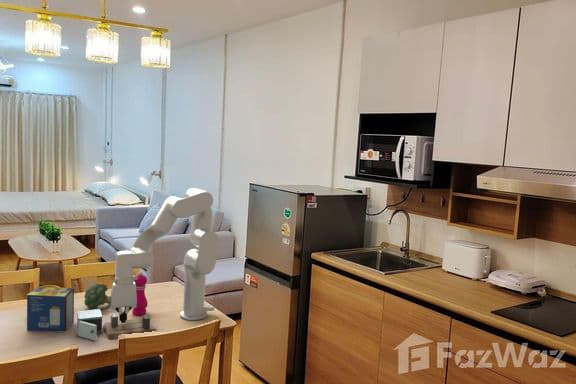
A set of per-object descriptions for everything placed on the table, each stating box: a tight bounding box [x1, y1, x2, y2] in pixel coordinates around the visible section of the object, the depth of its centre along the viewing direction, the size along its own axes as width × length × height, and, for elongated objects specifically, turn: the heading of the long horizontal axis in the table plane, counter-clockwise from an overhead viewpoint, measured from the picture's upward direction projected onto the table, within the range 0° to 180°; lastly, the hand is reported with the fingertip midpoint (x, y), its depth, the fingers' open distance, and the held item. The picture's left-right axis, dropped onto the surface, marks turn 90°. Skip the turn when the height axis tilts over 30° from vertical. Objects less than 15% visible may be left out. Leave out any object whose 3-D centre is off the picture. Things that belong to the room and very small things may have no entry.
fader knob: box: [110, 312, 119, 327], centre depth 200 cm, size 2×4×4 cm, turn 27°
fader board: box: [103, 314, 157, 340], centre depth 201 cm, size 19×13×6 cm
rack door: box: [76, 319, 98, 341], centre depth 190 cm, size 10×2×6 cm, turn 67°
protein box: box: [26, 286, 75, 333], centre depth 199 cm, size 10×15×16 cm
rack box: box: [76, 308, 103, 334], centre depth 199 cm, size 9×9×7 cm
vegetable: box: [84, 283, 111, 310], centre depth 225 cm, size 12×13×15 cm
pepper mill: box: [131, 271, 149, 317], centre depth 220 cm, size 7×7×20 cm
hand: (123, 321), depth 202 cm, fingers closed
